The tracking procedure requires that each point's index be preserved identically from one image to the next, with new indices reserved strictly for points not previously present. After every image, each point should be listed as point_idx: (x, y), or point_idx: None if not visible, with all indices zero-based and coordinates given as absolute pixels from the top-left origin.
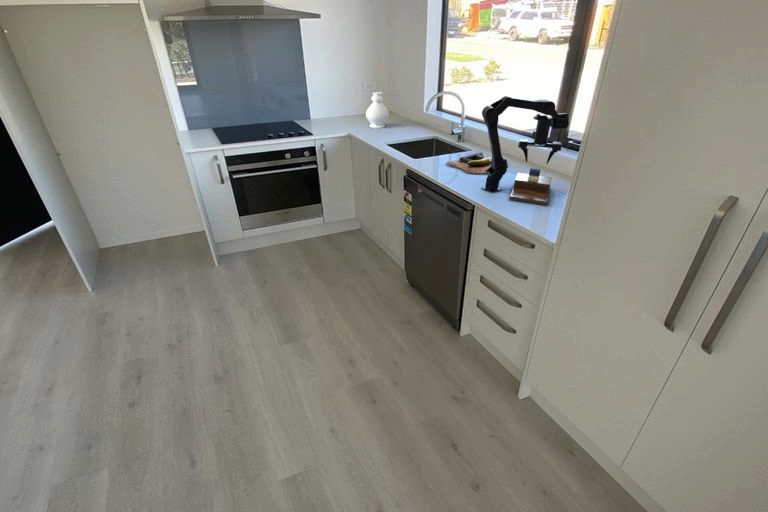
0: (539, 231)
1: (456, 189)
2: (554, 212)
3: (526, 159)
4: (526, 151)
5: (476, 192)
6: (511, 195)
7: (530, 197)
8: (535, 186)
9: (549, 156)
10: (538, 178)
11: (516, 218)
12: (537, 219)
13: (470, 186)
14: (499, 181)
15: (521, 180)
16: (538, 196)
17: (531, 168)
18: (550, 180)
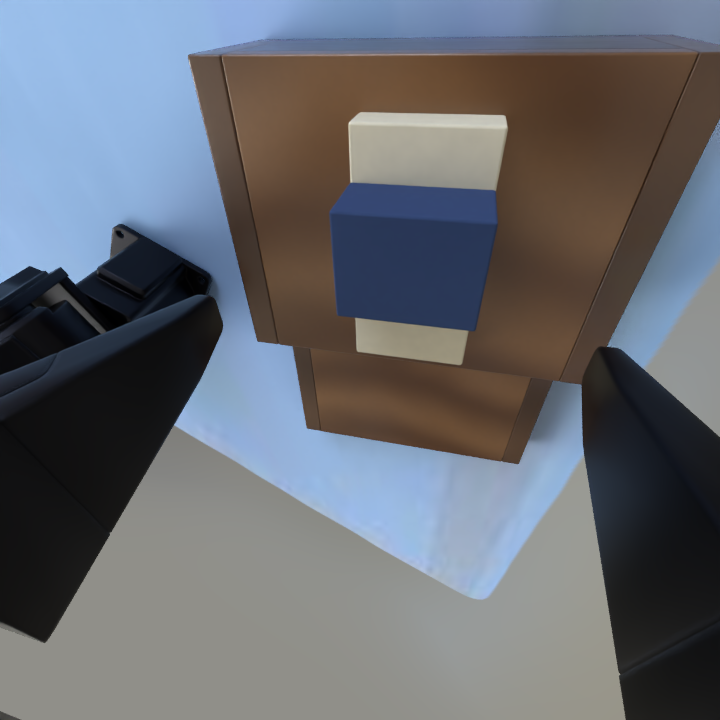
0: (456, 583)
1: None
2: (547, 494)
3: (186, 378)
4: (76, 569)
5: None
6: (310, 419)
7: (420, 428)
8: None
9: (625, 614)
10: (464, 348)
11: (378, 532)
12: (455, 537)
13: None
14: (154, 288)
15: (310, 341)
16: (473, 408)
17: (342, 225)
18: (644, 254)
